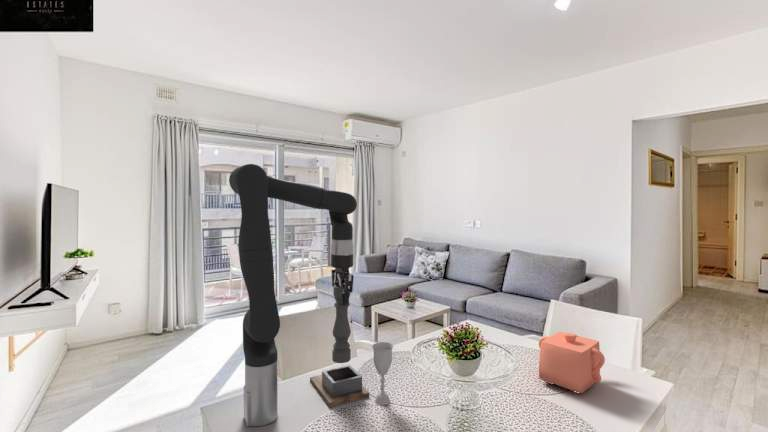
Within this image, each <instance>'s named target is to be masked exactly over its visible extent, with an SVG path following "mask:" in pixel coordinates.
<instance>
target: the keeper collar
mask: <svg viewBox="0 0 768 432" xmlns="http://www.w3.org/2000/svg"><path fill="white" fill-rule="evenodd" d="M321 375H322V386H323V387H324V388H325V390H326V391H327V392H328V393H329V395H330V396H331V397H332V398H333V399H334V398H338V397H342V396H346V395H350V394H354V393H358V392H362V386H363V376H362V375H361V374H360V373H359V372H358V371H357V370H356V369H355V368H354V367H352V365H350V364H349V365H343V366H340V367H335V368H330V369H325V370H322V371H321Z"/></svg>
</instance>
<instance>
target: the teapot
mask: <svg viewBox="0 0 768 432" xmlns="http://www.w3.org/2000/svg"><path fill="white" fill-rule="evenodd" d="M538 347H539V356H538V357H539V361H538V379H539V380H542V381H545V382H547V383H548V382H550V383H553V384H556V385H557V386H559V387H561V388H564V389H568V390H570V391H572V390H573V391H576V392H579V393H581V394H583V393H584V392H586V391H587V390H588V389H590V388H591V387H592V386H594V385H595V383H600V382H601V380H602V376H601V369H602V367H603V366H604V364H605V362H606V359H605V356H604V353H603V352H601V349H600V342H599V340H596V339H592V338H588V337H585V336H584V337H583V336H580V335H577V334H576V333H572V332H563V331H559V332H555V333H554V334H552V335H550V336H548V335H545V336H543V337H541V338H540V339H539V341H538ZM556 385H555V386H556ZM573 391H572V392H573ZM579 393H578V394H579Z"/></svg>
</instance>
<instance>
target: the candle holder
mask: <svg viewBox="0 0 768 432" xmlns="http://www.w3.org/2000/svg"><path fill="white" fill-rule="evenodd" d="M349 287H350V286H349ZM350 296H351V293H349V297H350ZM333 297H334V300H335V302H334V303H333V306H334V307H335V315H336V316H335V320H334V324H333V329H332V336H333V338H334V341H335V342H334V343H333V345H332V347H333V348H332V353H331V356H332V357H331V358H332V359H331V360H332V361H333V363H335V364H336V363H337V364H346V363H348V362H350V361H351V355H352V353H351V351H352V350H351V344H350V343H349V338H350V336H351V332H352V330H351V326H350V321H349V317H348V310H349V309H348V308H349V307H350V303H349V304H348V305H343V304H342V289H341V287H340V285H334V287H333Z"/></svg>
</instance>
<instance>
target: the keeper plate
mask: <svg viewBox="0 0 768 432" xmlns="http://www.w3.org/2000/svg"><path fill="white" fill-rule="evenodd" d="M309 382H310V384H311V385H312V386H313V388H314V389H315V390H316V392H317V393H318V394H319V396H320V398H322V399H323V401H324V402H325V403H326V405H327V406H328V408H333V407H336V406H341V405H344V404H348V403H351V402H356V401H360V400H363V399H367V398H370V392H369V391H368V390H367V389H366V388H365V387H364V386H363V385H362V392H358V393H354V394H350V395H346V396H342V397H338V398H334V399H333V398H332V397H331V396H330V395H329V393H328V392H327V391H326V390H325V388H324V387H323V386H322V374H320V375H315V376H310V377H309Z"/></svg>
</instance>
